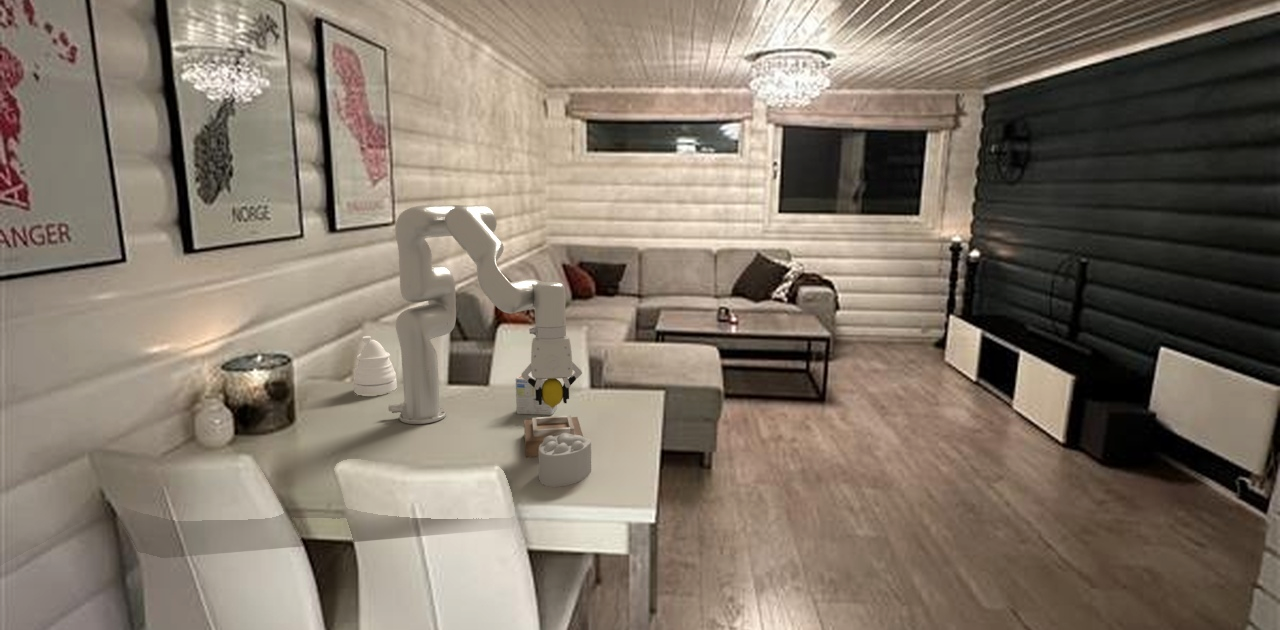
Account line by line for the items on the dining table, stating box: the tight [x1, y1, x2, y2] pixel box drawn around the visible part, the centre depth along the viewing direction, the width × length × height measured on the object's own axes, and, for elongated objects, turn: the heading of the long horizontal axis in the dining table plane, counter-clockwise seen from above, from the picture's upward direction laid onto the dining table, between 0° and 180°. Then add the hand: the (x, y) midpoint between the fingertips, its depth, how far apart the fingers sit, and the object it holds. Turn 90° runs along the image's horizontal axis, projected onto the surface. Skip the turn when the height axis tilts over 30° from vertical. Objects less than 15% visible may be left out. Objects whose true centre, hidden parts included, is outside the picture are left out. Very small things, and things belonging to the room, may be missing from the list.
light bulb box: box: [515, 372, 558, 416], centre depth 201 cm, size 11×7×11 cm, turn 84°
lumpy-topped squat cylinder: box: [538, 433, 592, 488], centre depth 156 cm, size 10×13×9 cm
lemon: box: [541, 379, 563, 408], centre depth 173 cm, size 6×6×8 cm
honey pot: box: [353, 335, 398, 394], centre depth 220 cm, size 13×13×18 cm
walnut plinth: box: [523, 415, 584, 458], centre depth 176 cm, size 14×16×6 cm
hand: (552, 401), depth 174 cm, fingers closed on lemon, 5 cm apart
